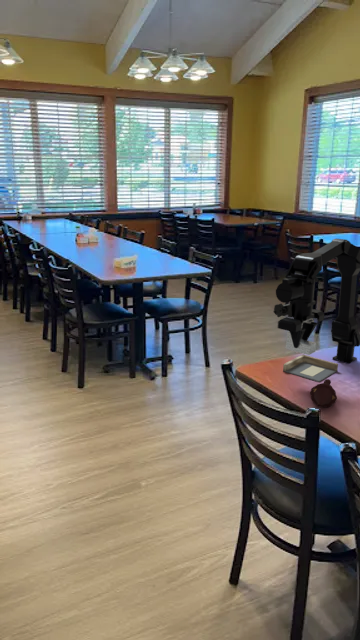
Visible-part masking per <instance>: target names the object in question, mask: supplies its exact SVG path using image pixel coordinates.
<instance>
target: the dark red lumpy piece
mask: <svg viewBox="0 0 360 640" xmlns="http://www.w3.org/2000/svg"><path fill="white" fill-rule="evenodd" d="M331 383H332V380H331V379H327V378H325V379H324V381H323V383H317V384H316V385H315V386H313V387H311V389H310V391H309V394H310V399H311V401H312V403H314V404H315V405H316V406H317V407H318V408H319V407H320V408H330V407H331V406H333V405H334V404H335V403H336V402H337V400H338V397H337V392H336V390H335V389H334V388H333V386H332V385H331Z"/></svg>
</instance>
